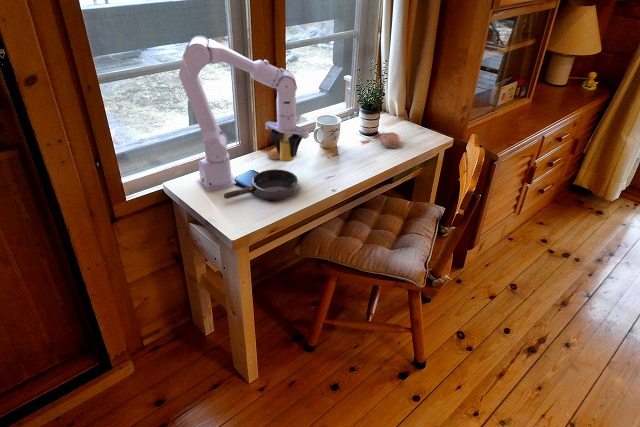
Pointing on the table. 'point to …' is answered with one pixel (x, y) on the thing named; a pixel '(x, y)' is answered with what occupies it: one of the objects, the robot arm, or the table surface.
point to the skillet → (275, 184)
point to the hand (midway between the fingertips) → (287, 154)
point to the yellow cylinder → (285, 150)
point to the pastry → (273, 154)
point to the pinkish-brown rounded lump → (390, 140)
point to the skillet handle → (239, 192)
